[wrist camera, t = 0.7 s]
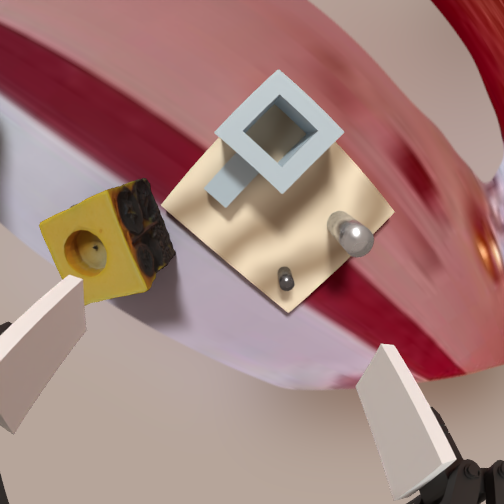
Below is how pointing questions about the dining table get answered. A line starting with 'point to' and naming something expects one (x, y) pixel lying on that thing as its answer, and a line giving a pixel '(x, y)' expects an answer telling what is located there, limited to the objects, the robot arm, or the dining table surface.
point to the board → (278, 212)
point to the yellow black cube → (110, 241)
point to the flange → (254, 157)
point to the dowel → (285, 278)
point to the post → (350, 233)
